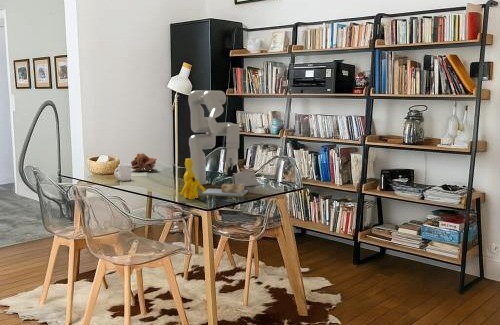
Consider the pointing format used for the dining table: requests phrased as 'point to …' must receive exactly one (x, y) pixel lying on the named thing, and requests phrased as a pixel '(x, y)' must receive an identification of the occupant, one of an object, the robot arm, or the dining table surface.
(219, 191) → the white flat slab
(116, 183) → the dining table surface
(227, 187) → the oak panel
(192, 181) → the figure statuette
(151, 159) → the mineral specimen
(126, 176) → the mug
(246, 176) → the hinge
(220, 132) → the robot arm
